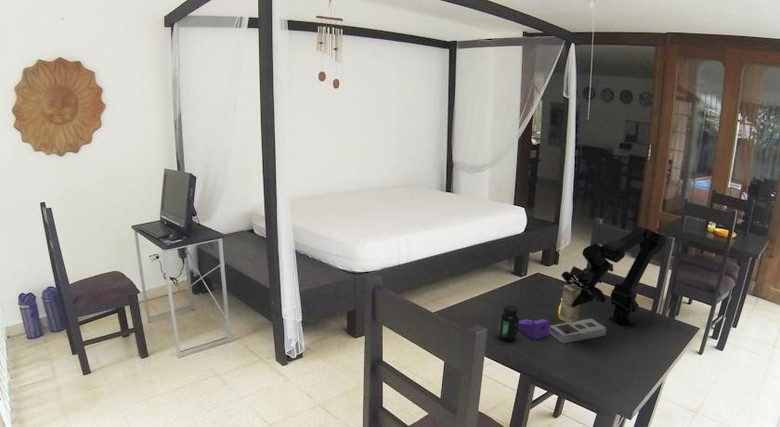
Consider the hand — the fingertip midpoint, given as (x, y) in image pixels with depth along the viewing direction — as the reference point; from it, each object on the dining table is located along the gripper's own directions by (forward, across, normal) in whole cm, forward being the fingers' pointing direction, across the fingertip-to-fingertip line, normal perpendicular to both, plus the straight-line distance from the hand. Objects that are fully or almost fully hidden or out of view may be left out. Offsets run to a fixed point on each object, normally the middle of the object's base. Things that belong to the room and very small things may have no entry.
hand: (567, 303), depth 182 cm
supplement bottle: (+24, -6, -5) cm, 25 cm away
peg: (+4, 0, +6) cm, 7 cm away
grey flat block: (+5, 0, +14) cm, 15 cm away
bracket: (+17, -7, +3) cm, 19 cm away
